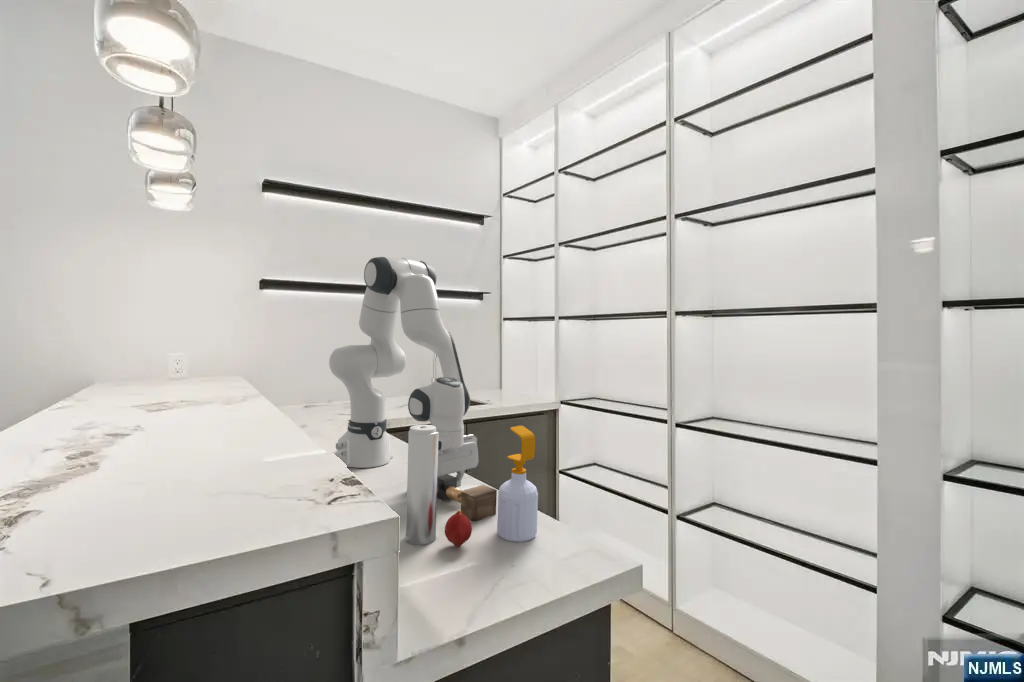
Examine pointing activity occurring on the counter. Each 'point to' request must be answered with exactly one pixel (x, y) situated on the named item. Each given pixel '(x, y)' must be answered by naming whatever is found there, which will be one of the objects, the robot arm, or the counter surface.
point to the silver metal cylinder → (422, 484)
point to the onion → (458, 529)
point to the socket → (478, 502)
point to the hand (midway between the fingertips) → (445, 489)
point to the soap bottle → (518, 495)
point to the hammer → (448, 488)
